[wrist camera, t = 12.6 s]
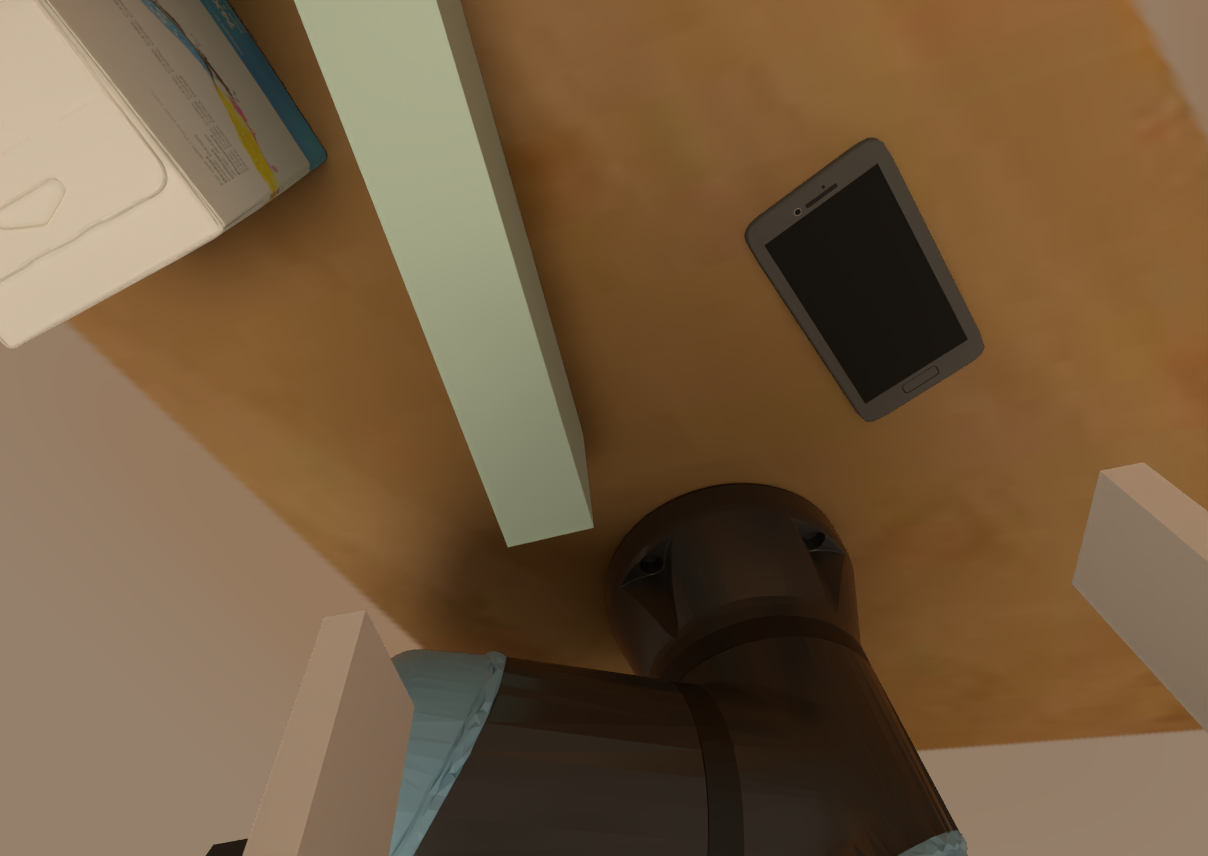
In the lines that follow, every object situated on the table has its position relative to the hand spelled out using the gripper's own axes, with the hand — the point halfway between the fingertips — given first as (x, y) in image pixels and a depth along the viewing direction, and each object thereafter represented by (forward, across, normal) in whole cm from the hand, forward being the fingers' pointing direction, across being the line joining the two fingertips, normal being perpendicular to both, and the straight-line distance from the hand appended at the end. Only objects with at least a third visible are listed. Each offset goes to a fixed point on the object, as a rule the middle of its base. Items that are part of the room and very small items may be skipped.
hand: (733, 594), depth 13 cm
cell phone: (+24, -12, +6) cm, 28 cm away
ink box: (+24, +17, -8) cm, 30 cm away
